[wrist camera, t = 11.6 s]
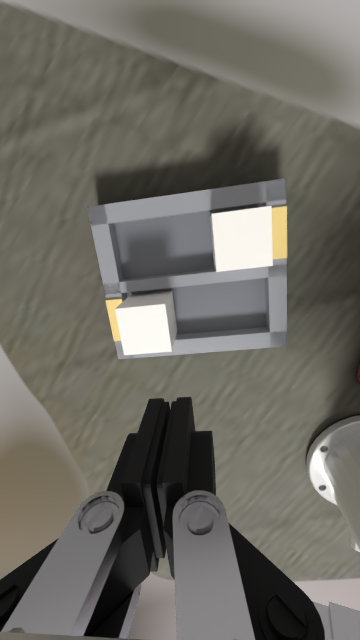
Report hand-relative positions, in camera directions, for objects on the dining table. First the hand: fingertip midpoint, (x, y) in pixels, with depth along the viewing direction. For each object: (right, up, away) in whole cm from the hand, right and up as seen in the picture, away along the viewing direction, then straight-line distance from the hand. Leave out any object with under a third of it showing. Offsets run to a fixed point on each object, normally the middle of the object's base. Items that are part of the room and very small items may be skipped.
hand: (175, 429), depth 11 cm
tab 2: (+5, +12, +13) cm, 18 cm away
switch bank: (+1, +9, +16) cm, 18 cm away
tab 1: (-2, +5, +16) cm, 17 cm away
